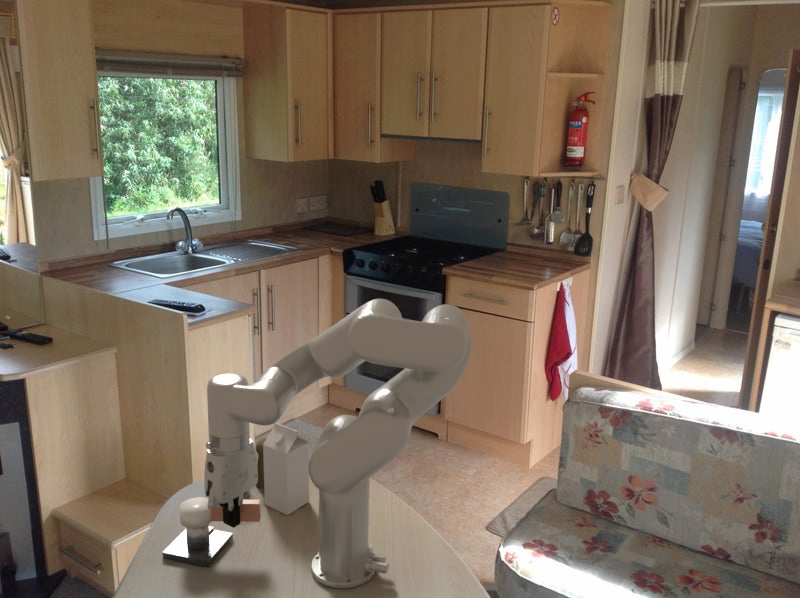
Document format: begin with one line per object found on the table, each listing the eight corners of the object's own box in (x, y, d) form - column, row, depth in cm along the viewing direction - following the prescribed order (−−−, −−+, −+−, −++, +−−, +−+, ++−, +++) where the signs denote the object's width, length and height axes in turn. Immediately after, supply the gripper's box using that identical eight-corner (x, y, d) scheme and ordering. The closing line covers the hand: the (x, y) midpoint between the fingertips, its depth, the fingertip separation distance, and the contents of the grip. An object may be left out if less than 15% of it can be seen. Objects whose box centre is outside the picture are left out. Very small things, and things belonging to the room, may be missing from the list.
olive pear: (275, 490, 172) (274, 448, 169) (251, 487, 173) (249, 444, 170) (284, 478, 178) (283, 436, 175) (260, 474, 179) (259, 433, 176)
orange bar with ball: (176, 528, 145) (175, 510, 144) (184, 509, 151) (183, 492, 150) (257, 528, 145) (256, 510, 144) (262, 510, 151) (261, 493, 150)
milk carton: (286, 492, 172) (285, 416, 166) (309, 502, 168) (308, 425, 162) (264, 505, 166) (262, 427, 161) (287, 516, 162) (286, 437, 157)
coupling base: (232, 539, 153) (231, 511, 151) (208, 568, 144) (206, 539, 142) (189, 530, 156) (188, 503, 154) (162, 558, 147) (160, 530, 145)
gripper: (212, 459, 132) (215, 549, 137) (271, 430, 144) (272, 513, 149) (184, 447, 136) (188, 534, 141) (244, 419, 148) (246, 501, 153)
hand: (231, 523), depth 145 cm, fingers closed
